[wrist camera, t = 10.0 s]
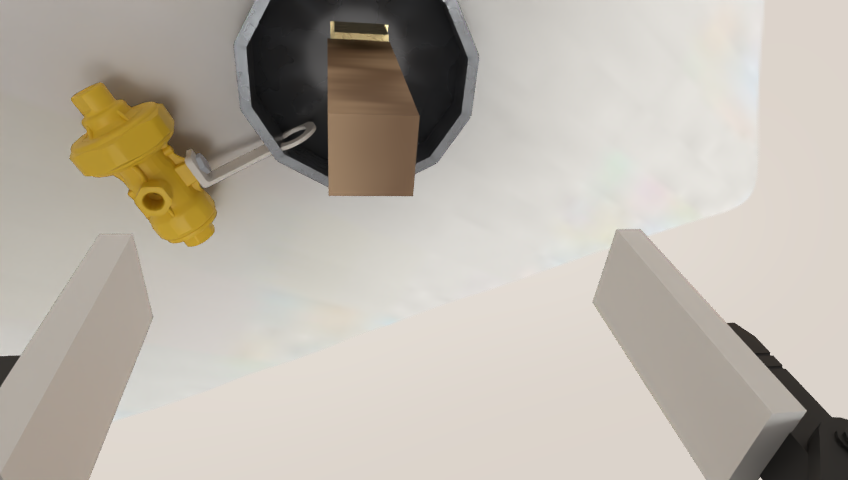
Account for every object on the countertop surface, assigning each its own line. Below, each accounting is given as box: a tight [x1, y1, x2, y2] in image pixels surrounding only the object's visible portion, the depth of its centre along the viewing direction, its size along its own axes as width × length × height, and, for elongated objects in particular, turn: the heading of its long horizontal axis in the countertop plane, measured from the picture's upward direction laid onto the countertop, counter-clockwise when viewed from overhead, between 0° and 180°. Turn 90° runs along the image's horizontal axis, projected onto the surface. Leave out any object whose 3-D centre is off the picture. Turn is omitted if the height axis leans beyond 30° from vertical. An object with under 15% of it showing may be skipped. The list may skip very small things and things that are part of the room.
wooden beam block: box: [327, 38, 420, 196], centre depth 26 cm, size 4×4×12 cm
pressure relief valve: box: [69, 82, 316, 247], centre depth 31 cm, size 6×12×10 cm
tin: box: [234, 0, 479, 187], centre depth 31 cm, size 13×13×3 cm
